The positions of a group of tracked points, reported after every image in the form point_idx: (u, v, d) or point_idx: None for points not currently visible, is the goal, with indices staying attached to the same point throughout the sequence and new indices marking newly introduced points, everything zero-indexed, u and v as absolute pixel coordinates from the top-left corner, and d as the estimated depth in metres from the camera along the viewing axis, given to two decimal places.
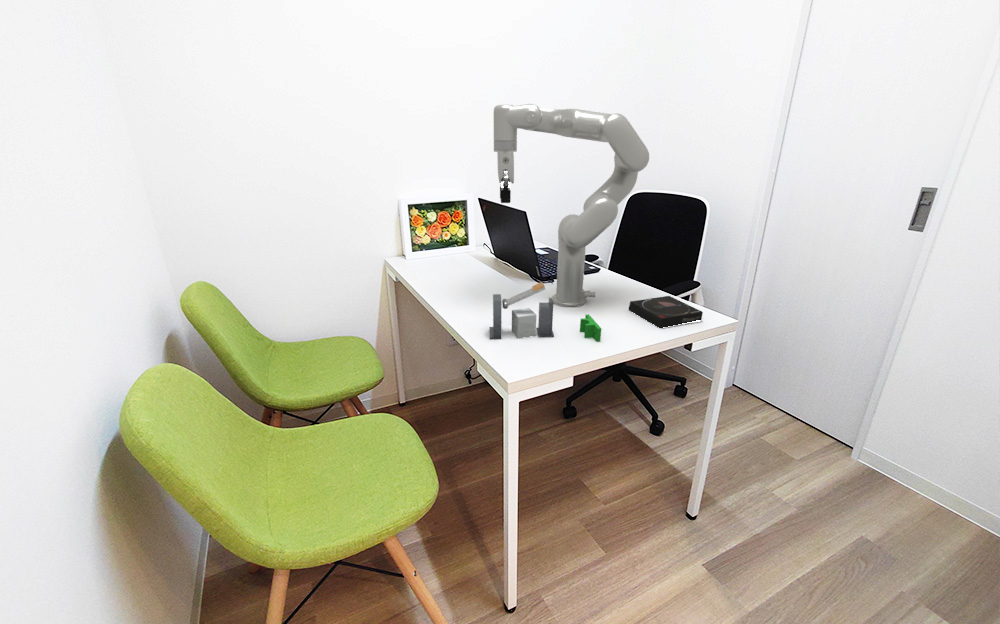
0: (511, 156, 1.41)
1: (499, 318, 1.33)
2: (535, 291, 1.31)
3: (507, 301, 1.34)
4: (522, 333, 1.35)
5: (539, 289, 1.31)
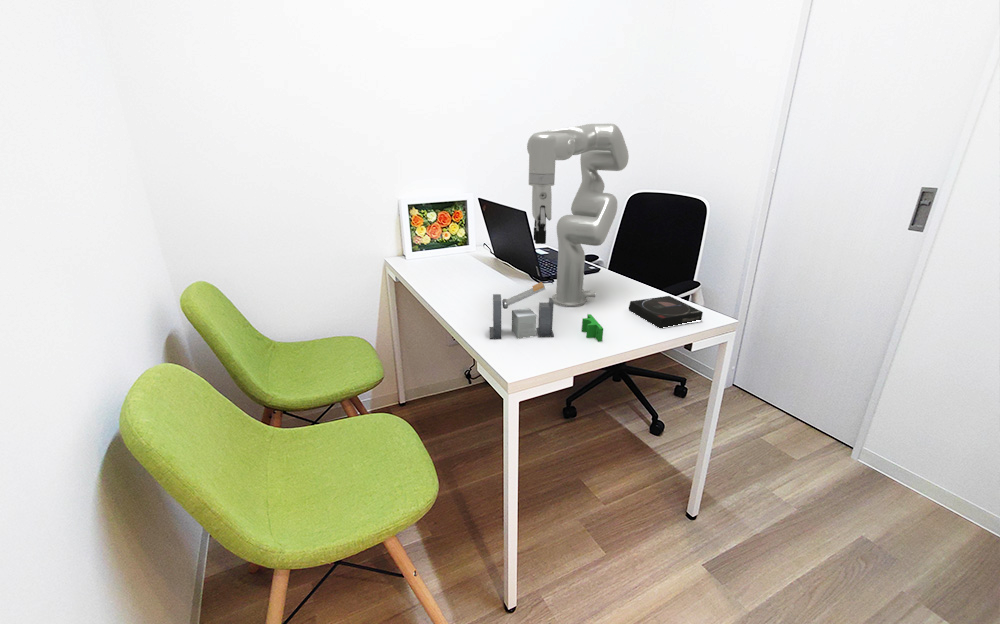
0: (549, 191, 1.26)
1: (499, 318, 1.33)
2: (535, 291, 1.31)
3: (507, 301, 1.34)
4: (522, 333, 1.35)
5: (539, 289, 1.31)
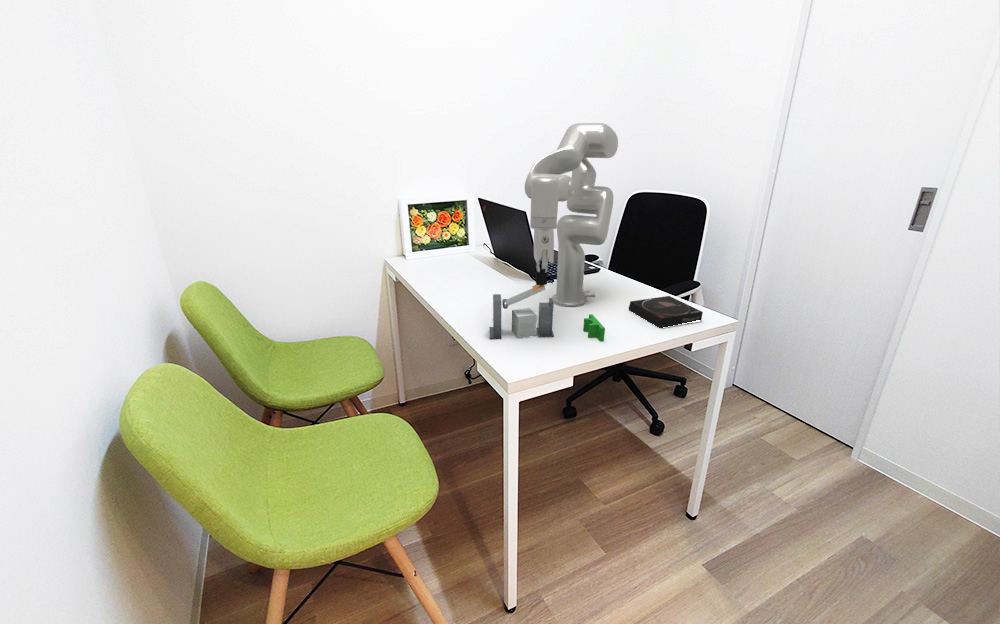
0: (551, 235, 1.22)
1: (499, 318, 1.33)
2: (535, 291, 1.31)
3: (507, 301, 1.34)
4: (522, 333, 1.35)
5: (539, 289, 1.31)
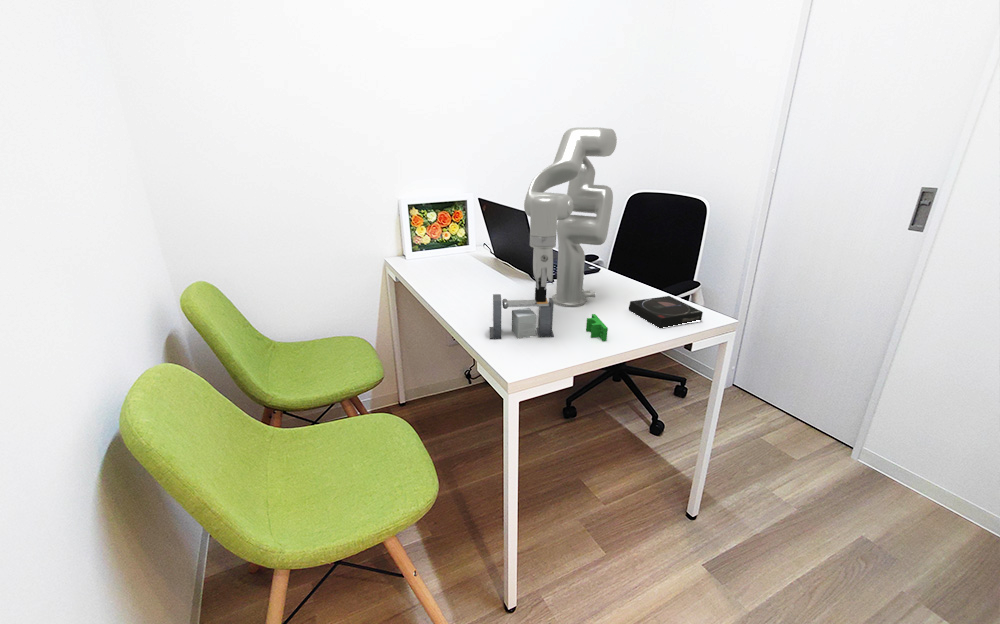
0: (550, 253, 1.24)
1: (499, 318, 1.33)
2: (538, 304, 1.33)
3: (508, 302, 1.34)
4: (522, 333, 1.35)
5: (542, 304, 1.33)
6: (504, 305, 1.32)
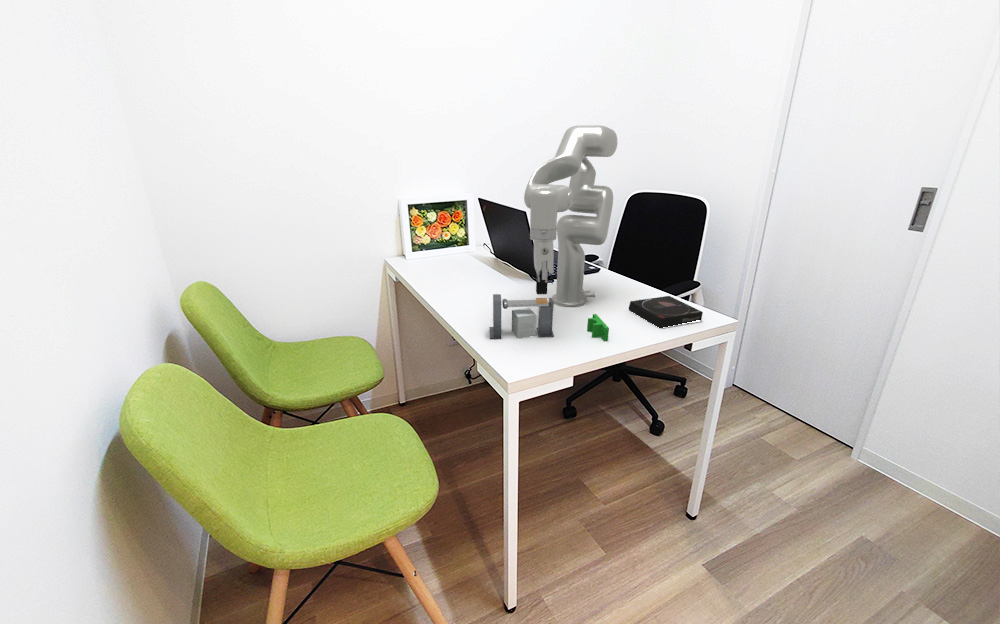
0: (551, 246, 1.24)
1: (499, 318, 1.33)
2: (538, 304, 1.33)
3: (508, 302, 1.34)
4: (522, 333, 1.35)
5: (542, 304, 1.33)
6: (504, 305, 1.32)
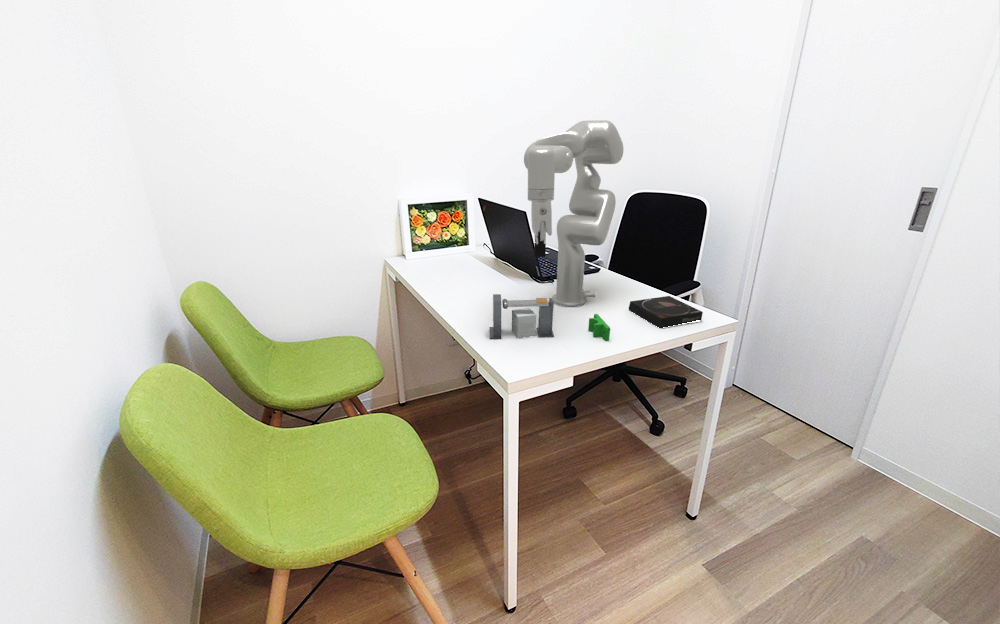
0: (549, 206, 1.24)
1: (499, 318, 1.33)
2: (538, 304, 1.33)
3: (508, 302, 1.34)
4: (522, 333, 1.35)
5: (542, 304, 1.33)
6: (504, 305, 1.32)
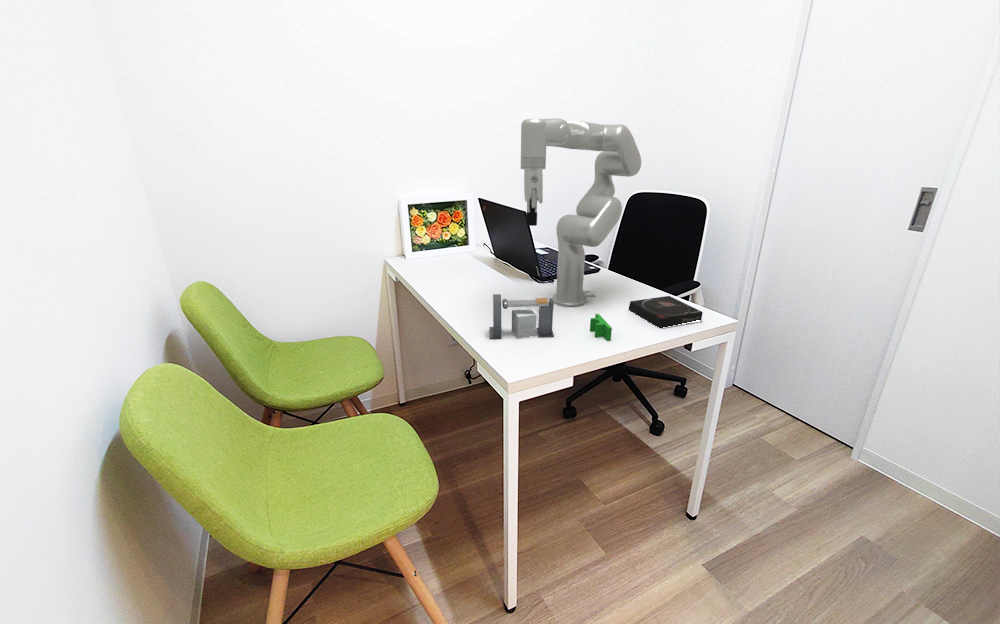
0: (540, 174, 1.30)
1: (499, 318, 1.33)
2: (538, 304, 1.33)
3: (508, 302, 1.34)
4: (522, 333, 1.35)
5: (542, 304, 1.33)
6: (504, 305, 1.32)
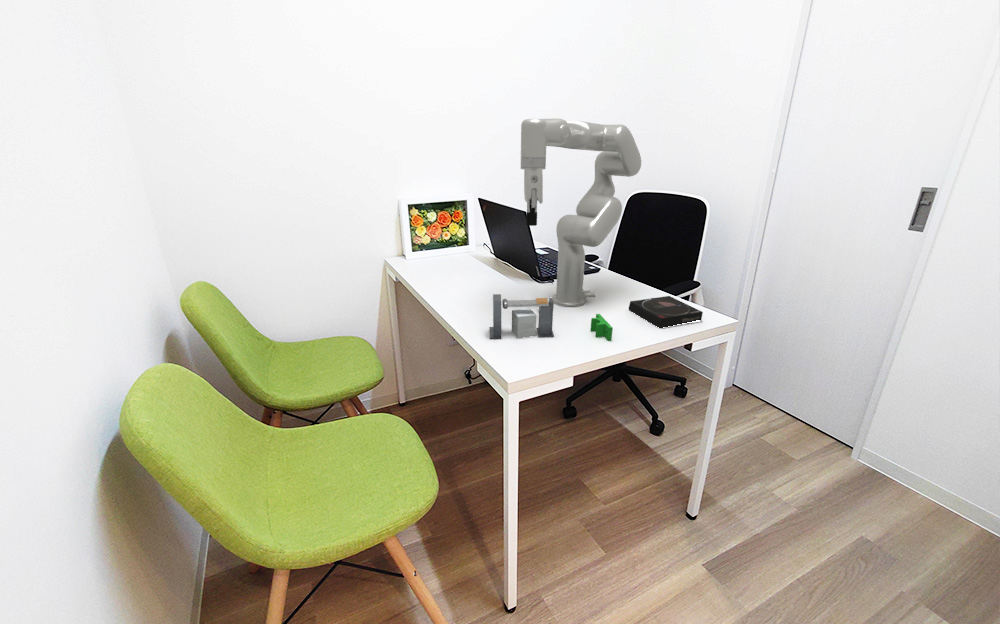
0: (540, 174, 1.30)
1: (499, 318, 1.33)
2: (538, 304, 1.33)
3: (508, 302, 1.34)
4: (522, 333, 1.35)
5: (542, 304, 1.33)
6: (504, 305, 1.32)
